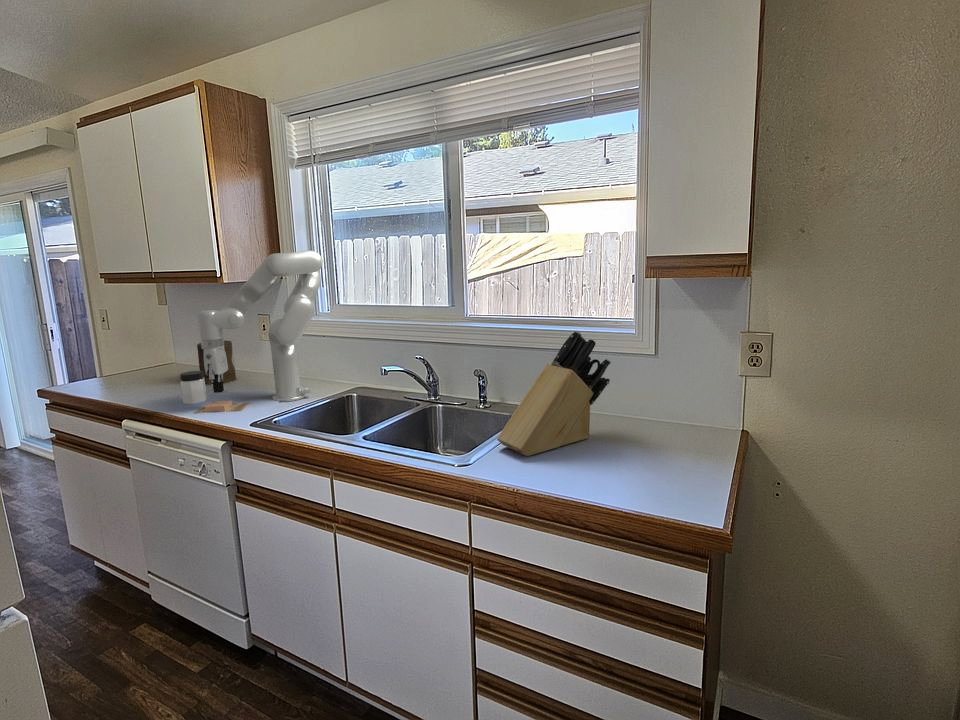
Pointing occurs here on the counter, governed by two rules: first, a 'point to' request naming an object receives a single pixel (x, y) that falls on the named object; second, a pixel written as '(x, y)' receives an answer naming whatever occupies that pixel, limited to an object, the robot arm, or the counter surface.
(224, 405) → the tile
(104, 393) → the counter surface
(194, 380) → the jar
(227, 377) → the wooden container
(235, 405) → the mat
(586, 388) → the knife block
